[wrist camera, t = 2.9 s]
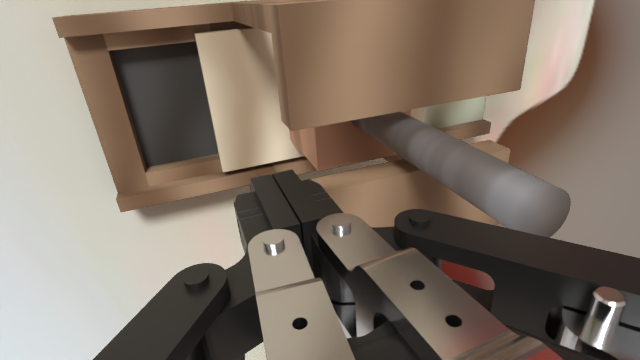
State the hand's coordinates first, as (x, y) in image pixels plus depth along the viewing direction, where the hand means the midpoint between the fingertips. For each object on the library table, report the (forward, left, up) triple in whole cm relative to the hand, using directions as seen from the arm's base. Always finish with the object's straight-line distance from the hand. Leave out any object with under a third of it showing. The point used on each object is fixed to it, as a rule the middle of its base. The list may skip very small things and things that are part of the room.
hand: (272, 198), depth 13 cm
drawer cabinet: (+5, +5, -16) cm, 18 cm away
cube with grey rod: (+5, +5, -14) cm, 16 cm away
